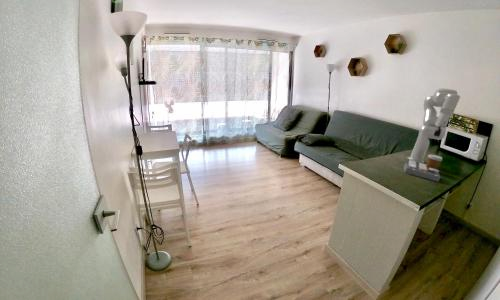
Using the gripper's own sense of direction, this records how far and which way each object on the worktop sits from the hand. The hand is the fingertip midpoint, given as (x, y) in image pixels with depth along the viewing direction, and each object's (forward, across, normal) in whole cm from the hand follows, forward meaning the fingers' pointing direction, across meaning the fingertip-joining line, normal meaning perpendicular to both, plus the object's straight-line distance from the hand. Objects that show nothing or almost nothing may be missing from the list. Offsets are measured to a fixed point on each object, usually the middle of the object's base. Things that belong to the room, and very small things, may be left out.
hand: (436, 135), depth 170 cm
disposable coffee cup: (+29, -9, +7) cm, 31 cm away
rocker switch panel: (+29, +7, -2) cm, 30 cm away
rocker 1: (+23, +9, -9) cm, 27 cm away
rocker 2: (+23, +9, -2) cm, 25 cm away
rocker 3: (+23, +9, +5) cm, 26 cm away
